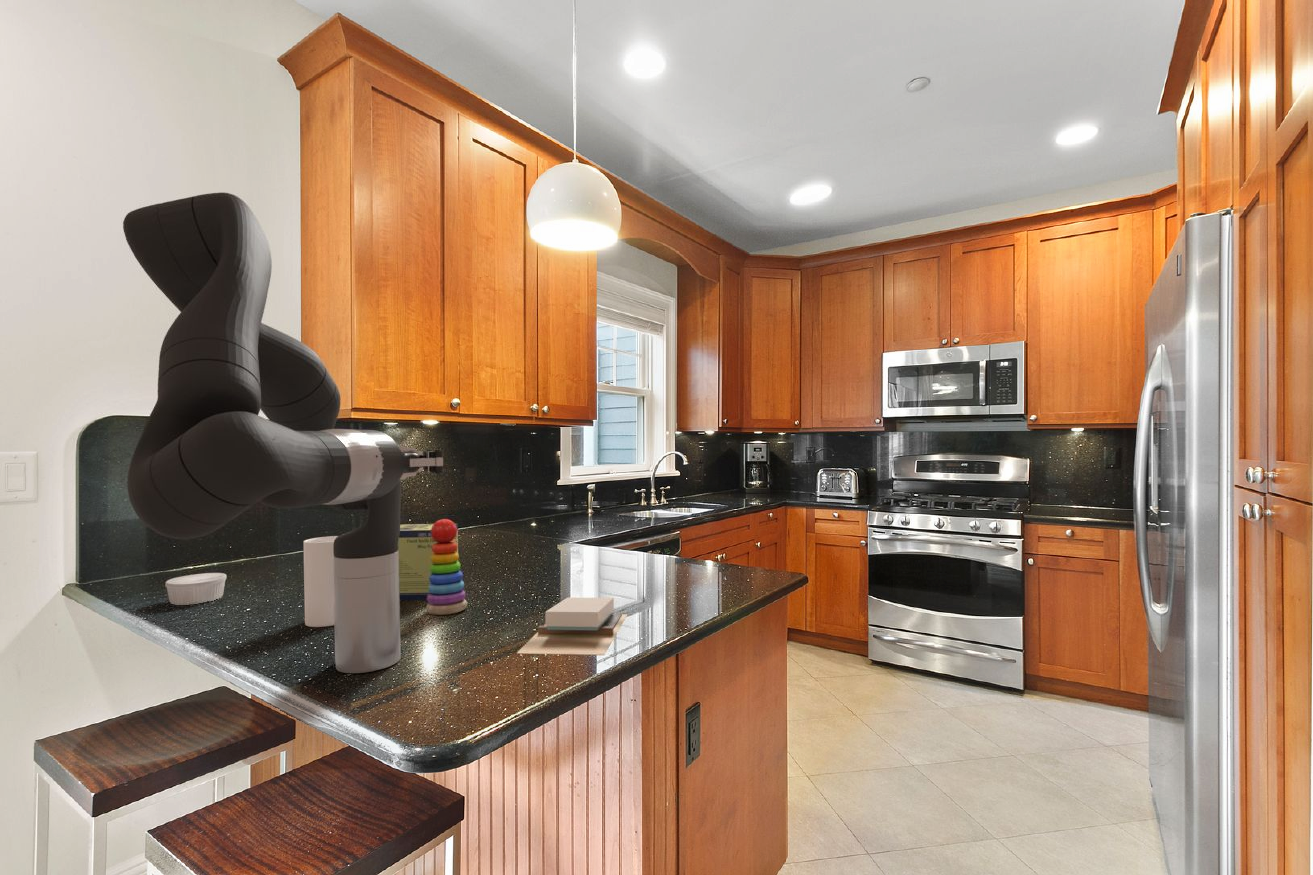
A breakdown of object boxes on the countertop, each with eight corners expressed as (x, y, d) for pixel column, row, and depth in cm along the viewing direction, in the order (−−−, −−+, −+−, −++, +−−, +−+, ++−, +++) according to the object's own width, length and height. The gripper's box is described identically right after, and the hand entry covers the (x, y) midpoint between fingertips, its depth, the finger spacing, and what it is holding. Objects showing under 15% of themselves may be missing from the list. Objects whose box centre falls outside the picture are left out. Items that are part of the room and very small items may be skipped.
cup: (299, 621, 120) (298, 539, 120) (344, 612, 126) (342, 534, 126) (312, 629, 114) (310, 544, 114) (358, 620, 120) (356, 538, 120)
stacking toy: (473, 605, 129) (471, 516, 129) (457, 616, 121) (455, 521, 121) (437, 605, 130) (435, 517, 130) (419, 616, 122) (417, 522, 122)
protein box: (445, 599, 135) (444, 528, 135) (374, 600, 135) (373, 530, 135) (460, 587, 145) (459, 522, 146) (394, 589, 145) (393, 524, 145)
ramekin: (202, 607, 133) (202, 583, 133) (151, 608, 133) (151, 584, 133) (238, 594, 144) (238, 572, 144) (192, 595, 144) (191, 573, 144)
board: (604, 661, 94) (603, 646, 94) (516, 659, 96) (516, 645, 96) (627, 619, 116) (627, 607, 116) (555, 618, 118) (555, 607, 118)
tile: (597, 612, 102) (613, 597, 116) (545, 611, 103) (567, 597, 117) (597, 630, 102) (613, 614, 116) (545, 629, 103) (567, 613, 117)
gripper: (407, 427, 62) (476, 430, 79) (286, 430, 63) (380, 432, 81) (408, 501, 62) (477, 488, 79) (287, 503, 63) (381, 489, 81)
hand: (428, 460), depth 80 cm, fingers closed
